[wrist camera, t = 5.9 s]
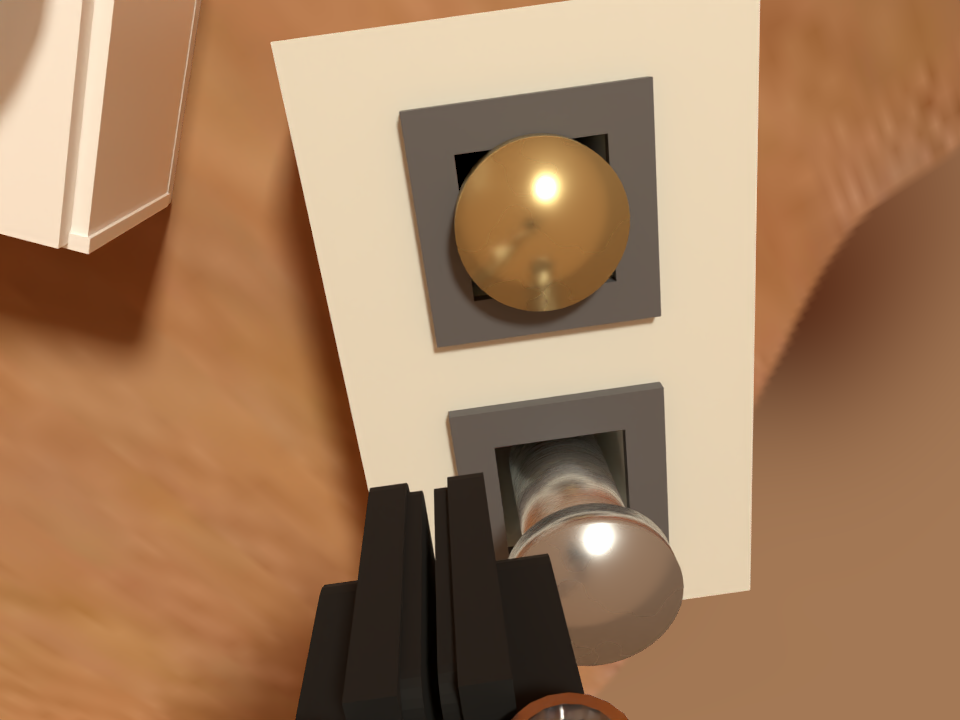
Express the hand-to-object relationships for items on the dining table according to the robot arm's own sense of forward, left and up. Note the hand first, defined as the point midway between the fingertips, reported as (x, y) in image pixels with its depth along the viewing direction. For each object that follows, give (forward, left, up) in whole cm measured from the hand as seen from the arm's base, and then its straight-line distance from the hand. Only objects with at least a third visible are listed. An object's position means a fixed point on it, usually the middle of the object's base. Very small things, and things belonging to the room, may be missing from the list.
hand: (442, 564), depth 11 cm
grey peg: (-8, -3, -16) cm, 19 cm away
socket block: (-3, -3, -22) cm, 22 cm away
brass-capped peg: (+2, -3, -21) cm, 21 cm away
